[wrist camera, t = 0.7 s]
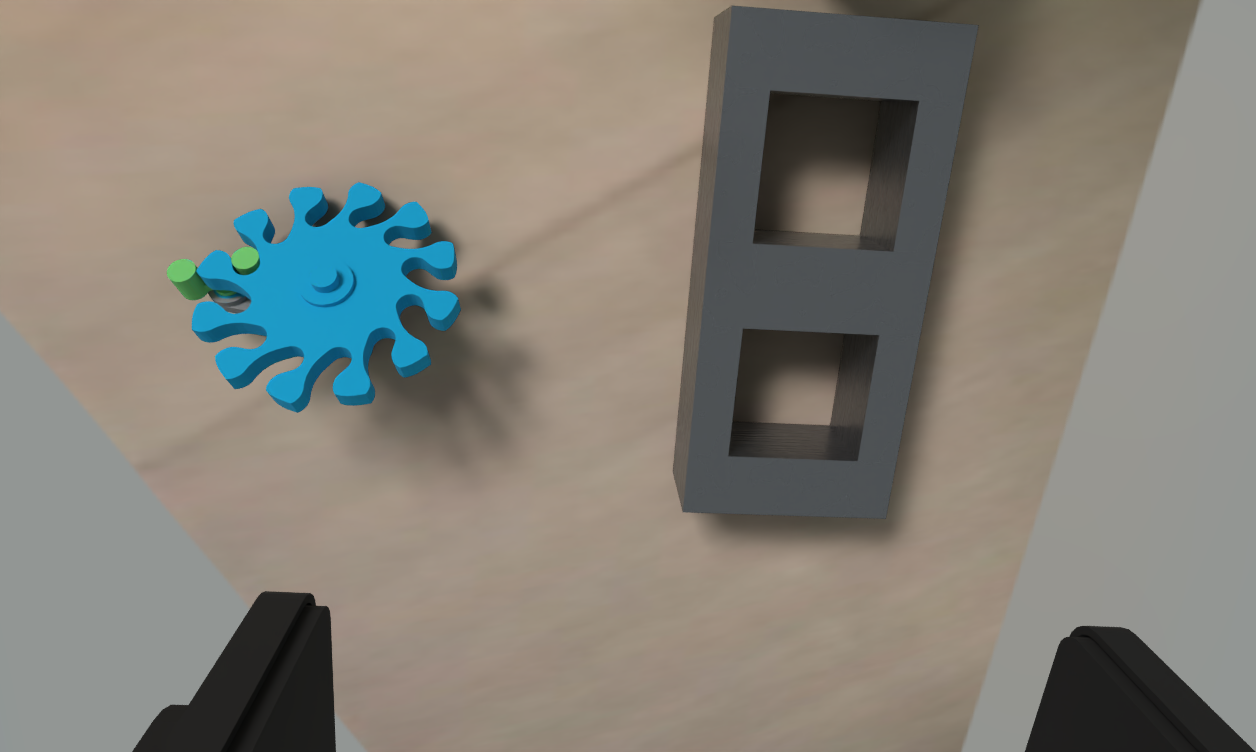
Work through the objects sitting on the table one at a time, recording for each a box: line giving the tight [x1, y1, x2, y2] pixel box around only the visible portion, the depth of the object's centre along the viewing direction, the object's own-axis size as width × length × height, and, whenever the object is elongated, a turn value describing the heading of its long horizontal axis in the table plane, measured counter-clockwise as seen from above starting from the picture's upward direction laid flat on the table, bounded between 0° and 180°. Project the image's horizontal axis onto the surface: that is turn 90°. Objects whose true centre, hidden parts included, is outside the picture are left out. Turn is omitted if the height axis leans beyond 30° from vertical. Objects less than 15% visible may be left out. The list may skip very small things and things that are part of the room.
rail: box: [673, 6, 978, 519], centre depth 34 cm, size 20×9×4 cm, turn 176°
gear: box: [167, 182, 461, 413], centre depth 33 cm, size 11×6×10 cm
